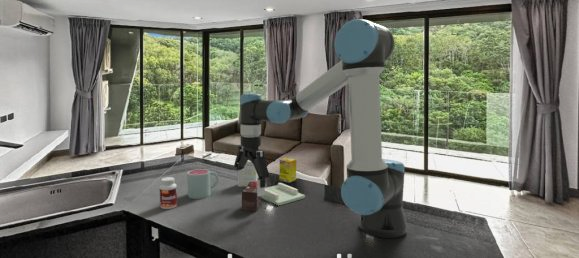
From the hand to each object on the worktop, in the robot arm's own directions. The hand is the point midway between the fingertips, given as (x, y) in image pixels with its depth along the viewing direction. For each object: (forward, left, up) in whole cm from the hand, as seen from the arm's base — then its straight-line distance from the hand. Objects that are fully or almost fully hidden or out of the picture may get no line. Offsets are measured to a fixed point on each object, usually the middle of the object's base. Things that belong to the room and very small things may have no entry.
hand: (250, 190), depth 125 cm
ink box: (+24, -14, -7) cm, 28 cm away
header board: (+4, -16, -7) cm, 18 cm away
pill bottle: (+21, +24, -7) cm, 32 cm away
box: (0, 0, -7) cm, 7 cm away
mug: (+26, +7, -7) cm, 27 cm away
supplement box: (+17, -32, -7) cm, 37 cm away
